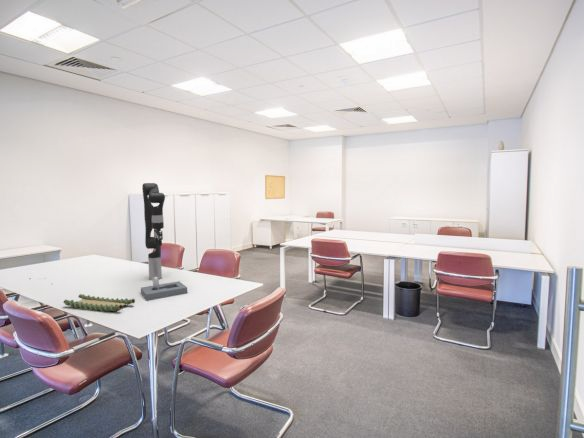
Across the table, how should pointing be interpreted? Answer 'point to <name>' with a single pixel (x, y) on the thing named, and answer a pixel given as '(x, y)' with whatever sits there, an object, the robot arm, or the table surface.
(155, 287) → the steel peg
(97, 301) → the stretcher
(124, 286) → the table surface
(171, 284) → the keyhole plate
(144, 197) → the robot arm
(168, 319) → the table surface
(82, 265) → the table surface
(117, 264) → the table surface
